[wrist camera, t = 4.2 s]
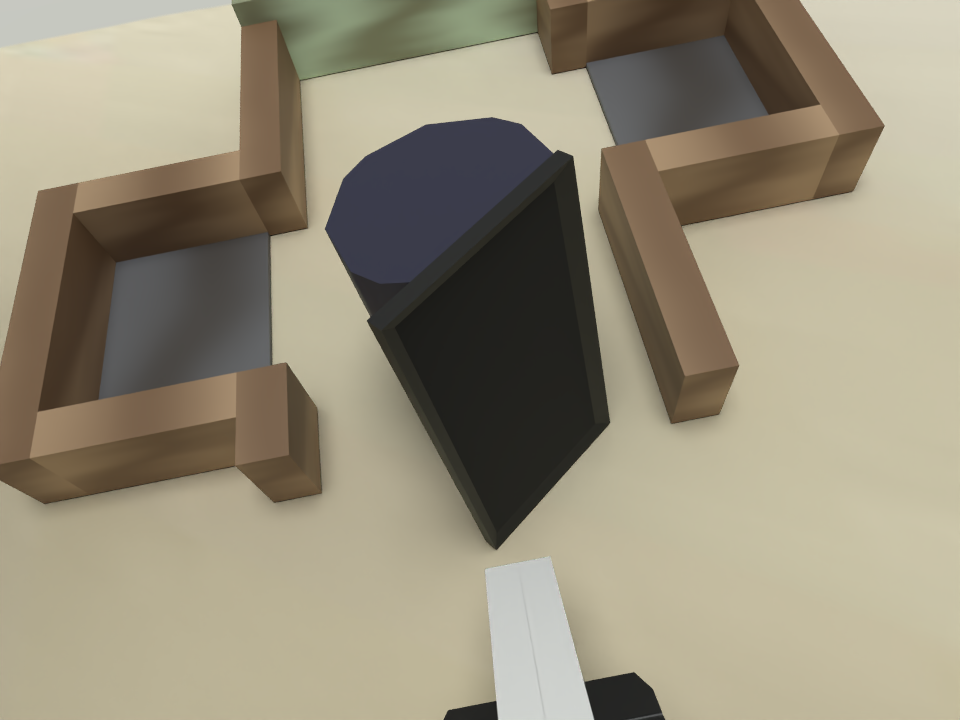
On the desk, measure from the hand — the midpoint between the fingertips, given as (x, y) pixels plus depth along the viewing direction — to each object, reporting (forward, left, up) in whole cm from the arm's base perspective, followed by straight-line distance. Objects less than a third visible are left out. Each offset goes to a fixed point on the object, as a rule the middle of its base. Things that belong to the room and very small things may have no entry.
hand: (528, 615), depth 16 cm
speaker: (0, +7, -4) cm, 8 cm away
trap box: (0, +15, -4) cm, 16 cm away
